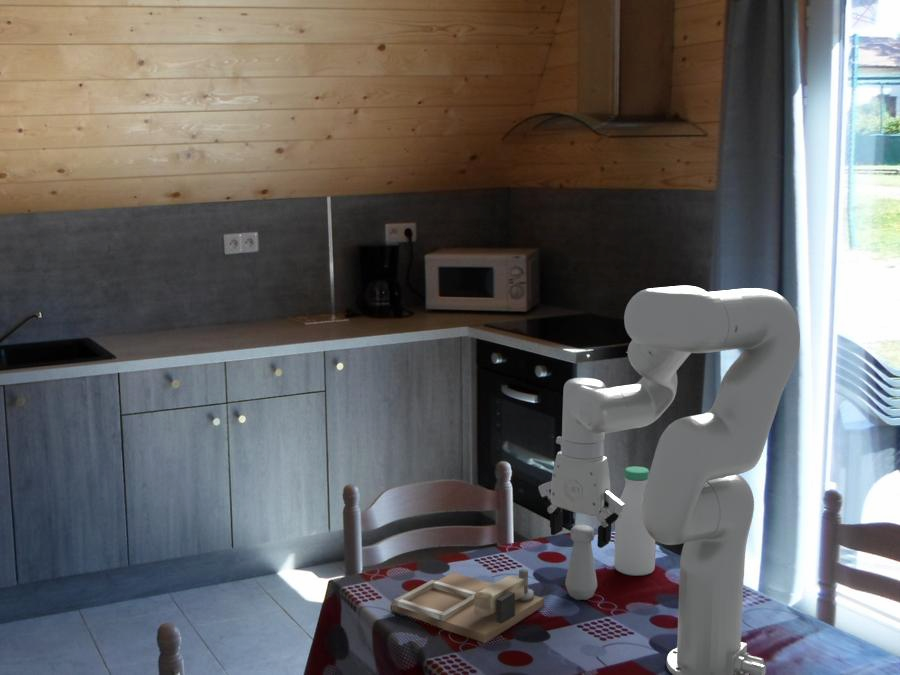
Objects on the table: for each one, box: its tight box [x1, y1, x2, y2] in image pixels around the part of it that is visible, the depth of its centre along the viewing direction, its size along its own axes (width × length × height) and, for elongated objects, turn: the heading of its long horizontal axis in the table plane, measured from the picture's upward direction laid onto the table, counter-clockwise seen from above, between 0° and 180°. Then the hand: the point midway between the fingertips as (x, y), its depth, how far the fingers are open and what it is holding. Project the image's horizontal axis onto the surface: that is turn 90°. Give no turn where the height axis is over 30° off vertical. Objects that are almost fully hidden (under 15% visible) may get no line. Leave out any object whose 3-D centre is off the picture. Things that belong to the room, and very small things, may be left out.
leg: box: [474, 574, 524, 616], centre depth 182 cm, size 12×3×3 cm, turn 142°
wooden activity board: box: [391, 568, 545, 644], centre depth 186 cm, size 20×18×6 cm
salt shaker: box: [565, 524, 598, 601], centre depth 192 cm, size 6×6×13 cm
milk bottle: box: [613, 465, 657, 577], centre depth 203 cm, size 8×8×20 cm
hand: (579, 539), depth 192 cm, fingers open, 9 cm apart
